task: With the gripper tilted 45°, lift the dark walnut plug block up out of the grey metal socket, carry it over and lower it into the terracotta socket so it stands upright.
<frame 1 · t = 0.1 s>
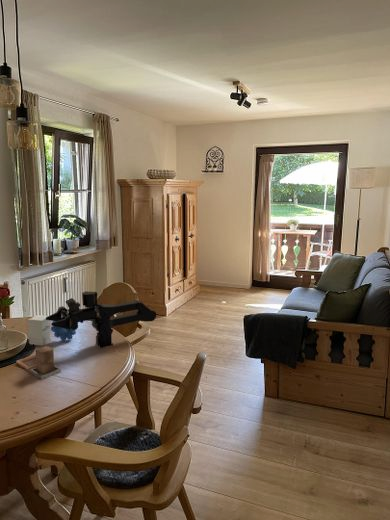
hand: (48, 321, 170), 17 cm above the table, tool horizontal, fingers open, 9 cm apart
supplement box: (40, 342, 190), on the table
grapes: (64, 341, 191), on the table
terracotta socket: (33, 362, 167), on the table
walnut plug block: (45, 360, 158), in the grey metal socket
grey metal socket: (45, 372, 159), on the table
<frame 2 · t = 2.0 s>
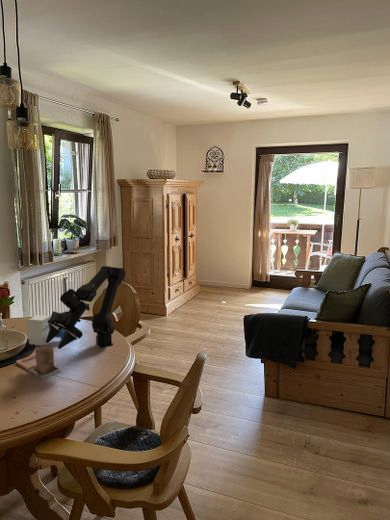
hand: (52, 345, 160), 10 cm above the table, tool tilted 45°, fingers open, 9 cm apart
nothing on the table moved.
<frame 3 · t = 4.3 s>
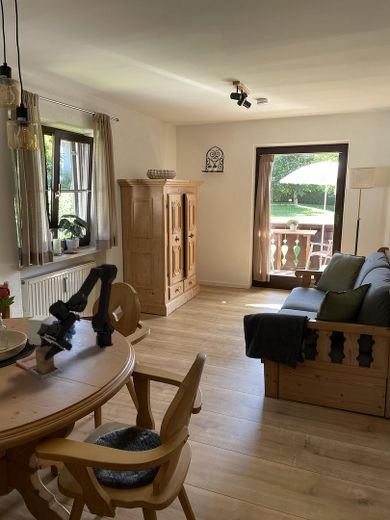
hand: (41, 358, 157), 7 cm above the table, tool tilted 45°, fingers closed on walnut plug block, 5 cm apart
walnut plug block: (45, 360, 158), in the grey metal socket, touching gripper
everything else where it was.
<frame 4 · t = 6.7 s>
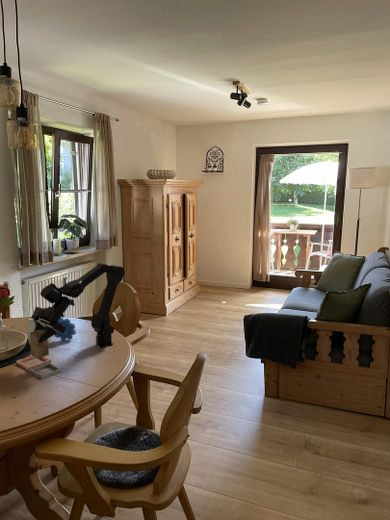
hand: (35, 341, 159), 12 cm above the table, tool tilted 45°, fingers closed on walnut plug block, 5 cm apart
walnut plug block: (39, 343, 161), point 11 cm above the table, touching gripper
everything else where it was.
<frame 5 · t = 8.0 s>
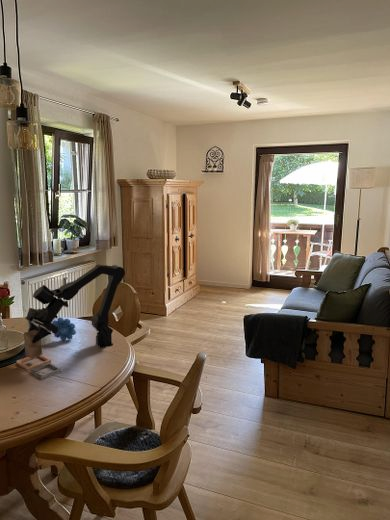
hand: (29, 341, 164), 10 cm above the table, tool tilted 45°, fingers closed on walnut plug block, 5 cm apart
walnut plug block: (32, 343, 166), point 9 cm above the table, touching gripper
everything else where it was.
when the fingers open (8 cm above the table, at t = 9.2 s): walnut plug block drops 2 cm, resting in terracotta socket.
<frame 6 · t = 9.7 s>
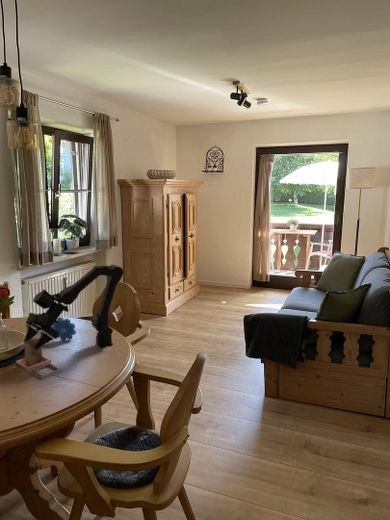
hand: (29, 345, 165), 8 cm above the table, tool tilted 45°, fingers open, 9 cm apart
walnut plug block: (33, 352, 166), in the terracotta socket
everything else where it was.
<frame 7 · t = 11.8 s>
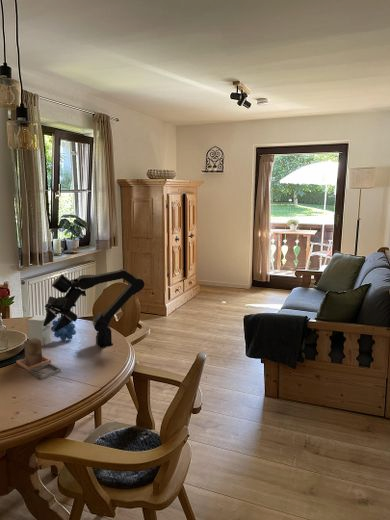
hand: (49, 328, 171), 13 cm above the table, tool tilted 45°, fingers open, 9 cm apart
nothing on the table moved.
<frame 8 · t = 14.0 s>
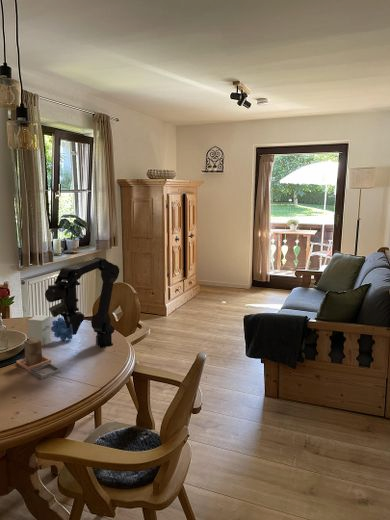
hand: (71, 331, 169), 13 cm above the table, tool pointing down, fingers open, 9 cm apart
nothing on the table moved.
at the end: walnut plug block 0.0 cm off-centre on the terracotta socket, point 5.0 cm above the terracotta socket's base; walnut plug block tilted 0°; the gripper is holding nothing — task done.
